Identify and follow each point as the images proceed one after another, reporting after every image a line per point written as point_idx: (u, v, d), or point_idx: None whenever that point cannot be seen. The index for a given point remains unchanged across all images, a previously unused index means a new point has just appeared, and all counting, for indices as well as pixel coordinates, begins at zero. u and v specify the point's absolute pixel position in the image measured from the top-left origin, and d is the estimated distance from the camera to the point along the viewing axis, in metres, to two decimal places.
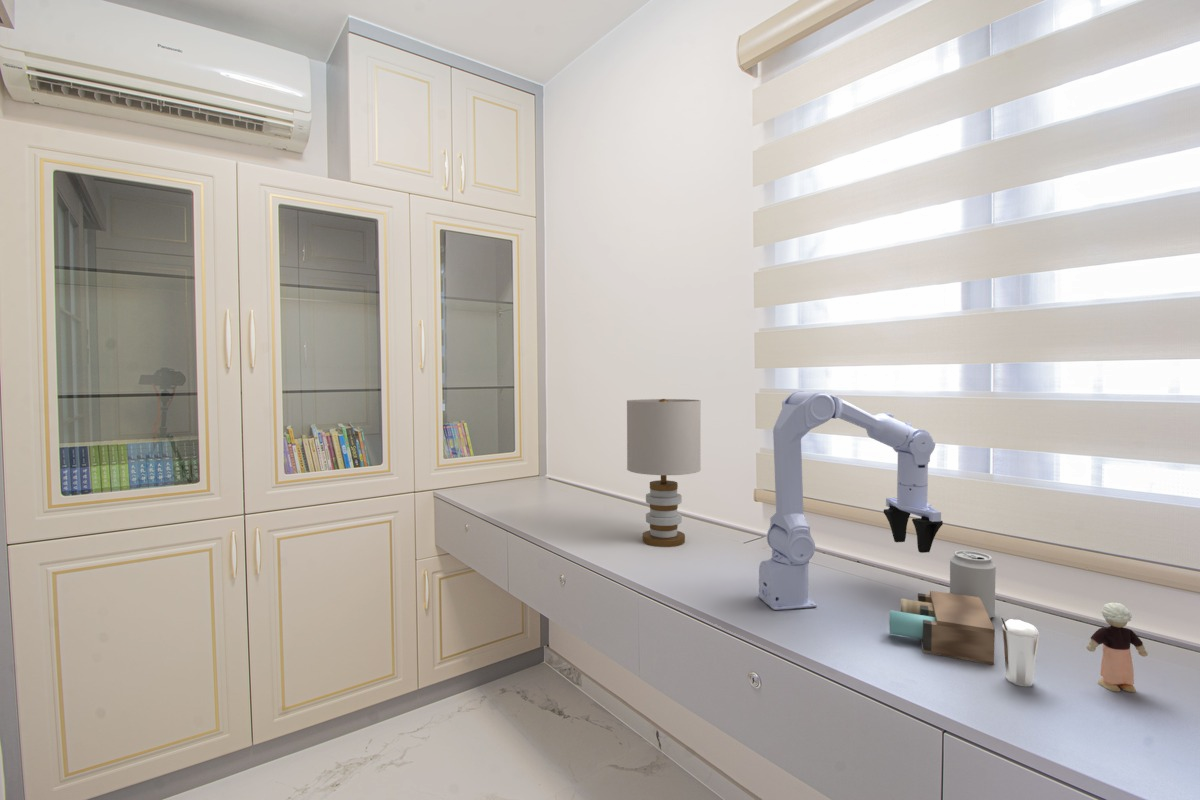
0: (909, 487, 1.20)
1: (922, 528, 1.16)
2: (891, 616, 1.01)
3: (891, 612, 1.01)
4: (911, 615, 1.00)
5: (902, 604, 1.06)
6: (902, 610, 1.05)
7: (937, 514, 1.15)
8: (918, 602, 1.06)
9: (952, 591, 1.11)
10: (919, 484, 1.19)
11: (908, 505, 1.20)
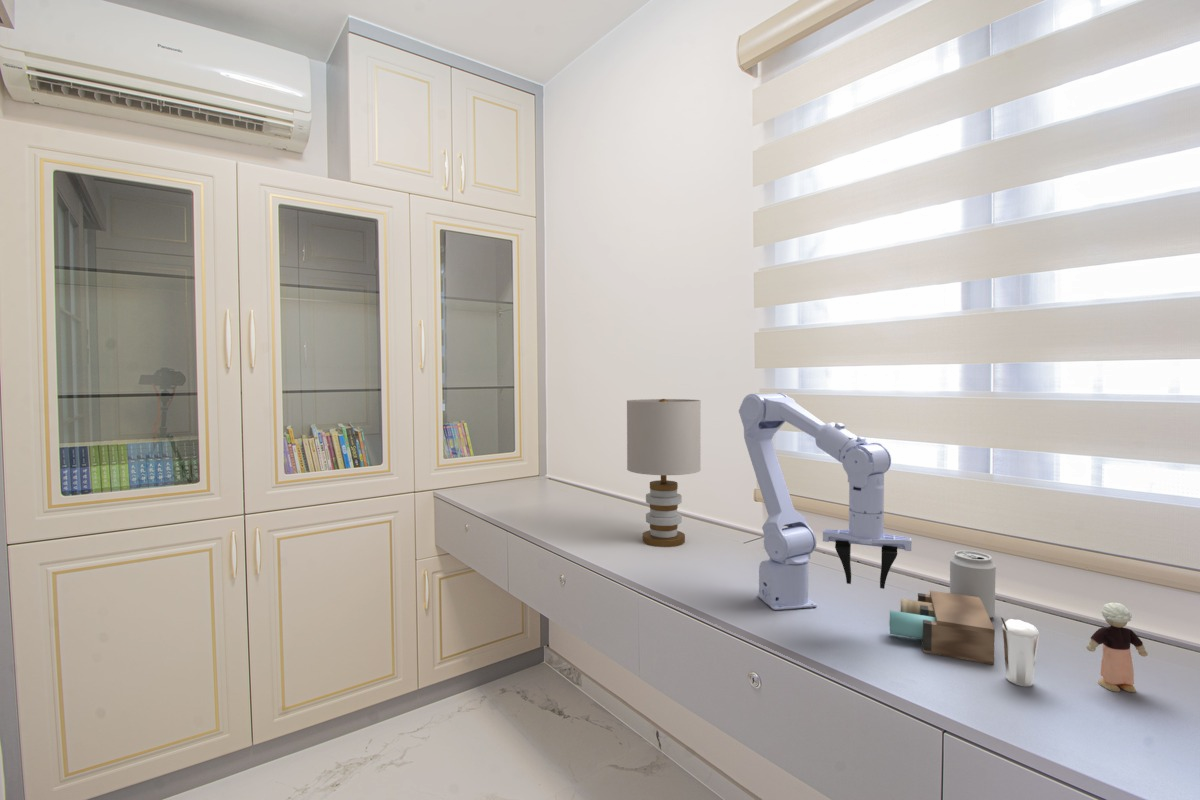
0: None
1: None
2: (891, 616, 1.01)
3: (891, 612, 1.01)
4: (911, 615, 1.00)
5: (902, 604, 1.06)
6: (902, 610, 1.05)
7: None
8: (918, 602, 1.06)
9: (952, 591, 1.12)
10: (854, 509, 1.02)
11: None
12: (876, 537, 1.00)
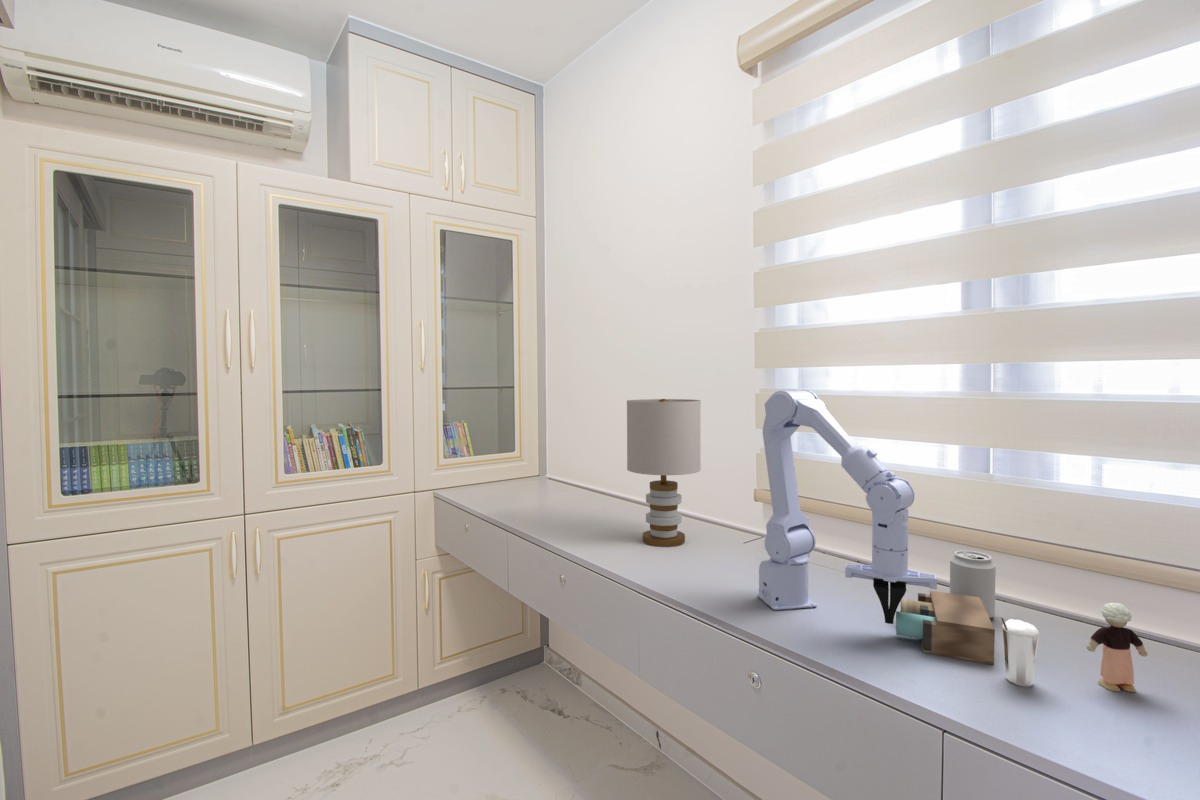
0: None
1: None
2: (898, 617, 1.00)
3: (898, 613, 1.01)
4: (918, 616, 1.00)
5: (902, 604, 1.06)
6: (902, 610, 1.05)
7: None
8: (918, 602, 1.06)
9: (952, 591, 1.11)
10: (879, 546, 1.00)
11: None
12: (901, 575, 0.99)
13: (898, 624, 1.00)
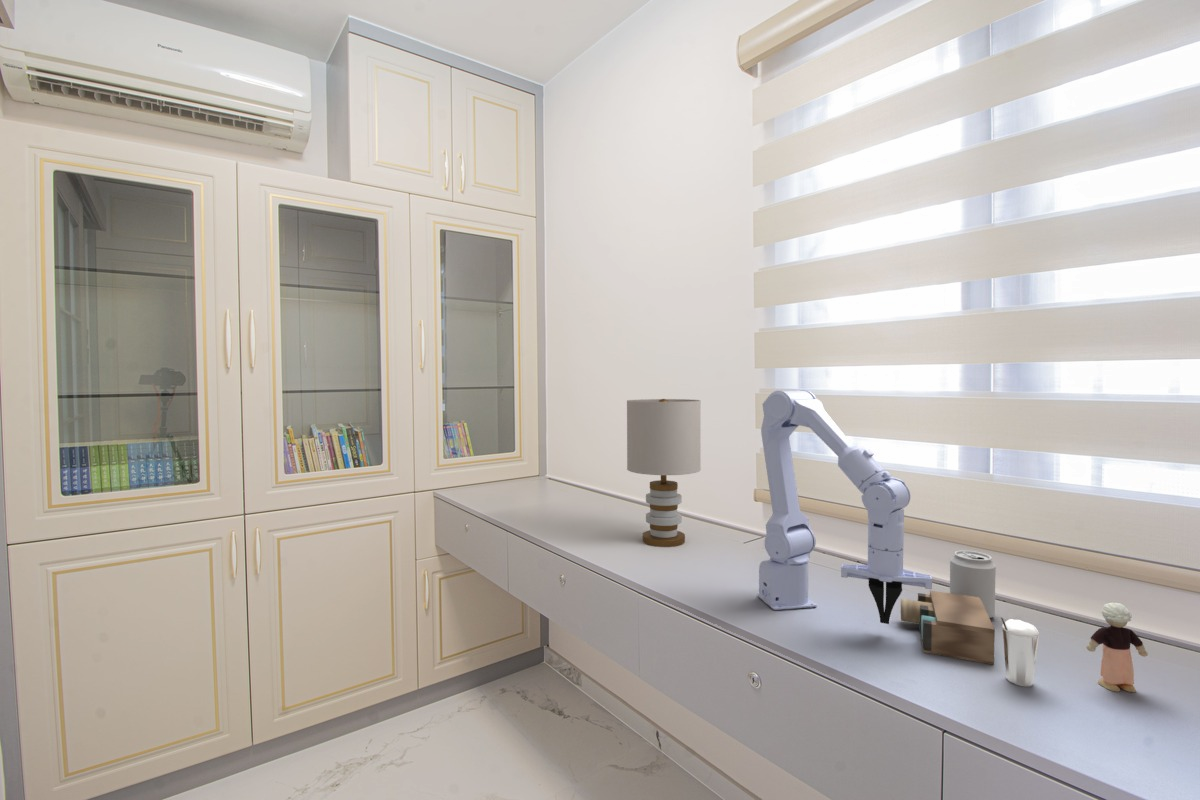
0: None
1: None
2: None
3: (924, 617, 0.99)
4: None
5: (902, 604, 1.06)
6: (902, 610, 1.05)
7: None
8: (918, 602, 1.06)
9: (952, 591, 1.11)
10: (874, 546, 1.00)
11: None
12: (896, 575, 0.99)
13: None
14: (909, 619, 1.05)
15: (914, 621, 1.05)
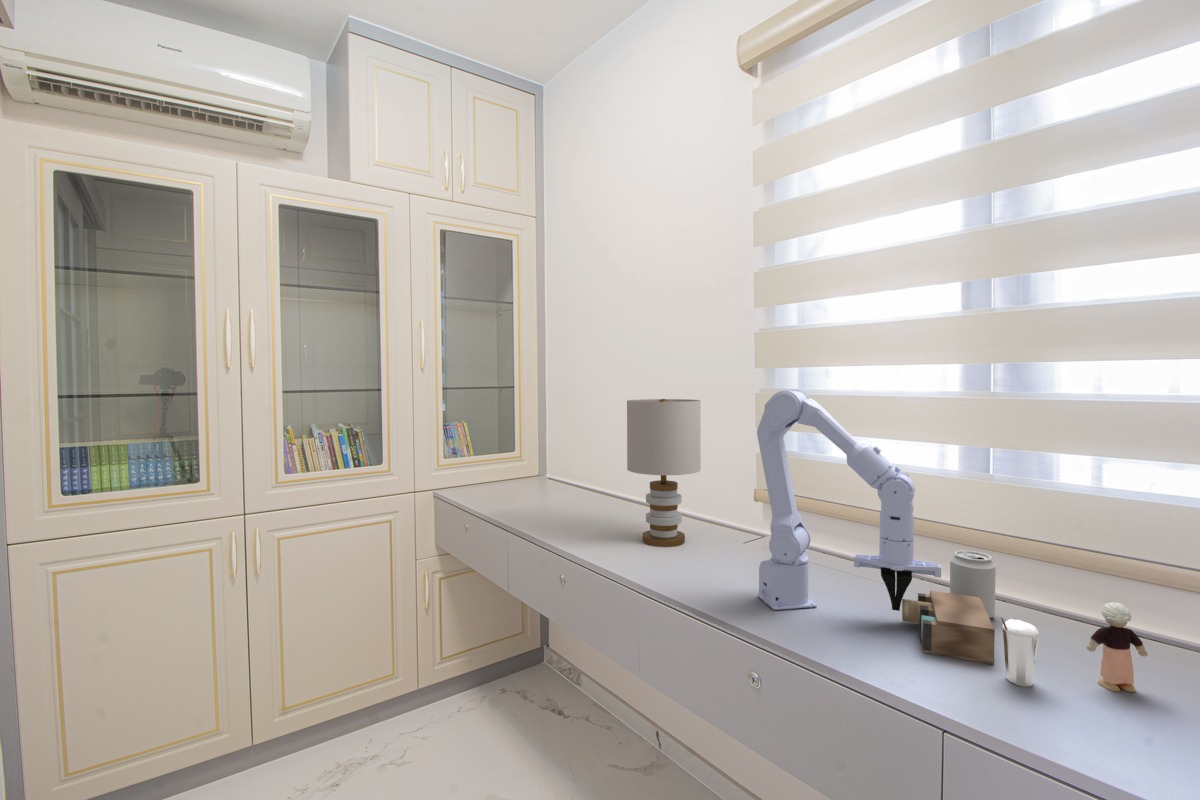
0: None
1: None
2: None
3: (924, 617, 0.99)
4: None
5: (904, 604, 1.06)
6: (904, 610, 1.05)
7: None
8: (920, 602, 1.06)
9: (952, 591, 1.11)
10: (892, 538, 1.05)
11: None
12: (907, 564, 1.05)
13: None
14: (910, 619, 1.05)
15: (916, 621, 1.05)
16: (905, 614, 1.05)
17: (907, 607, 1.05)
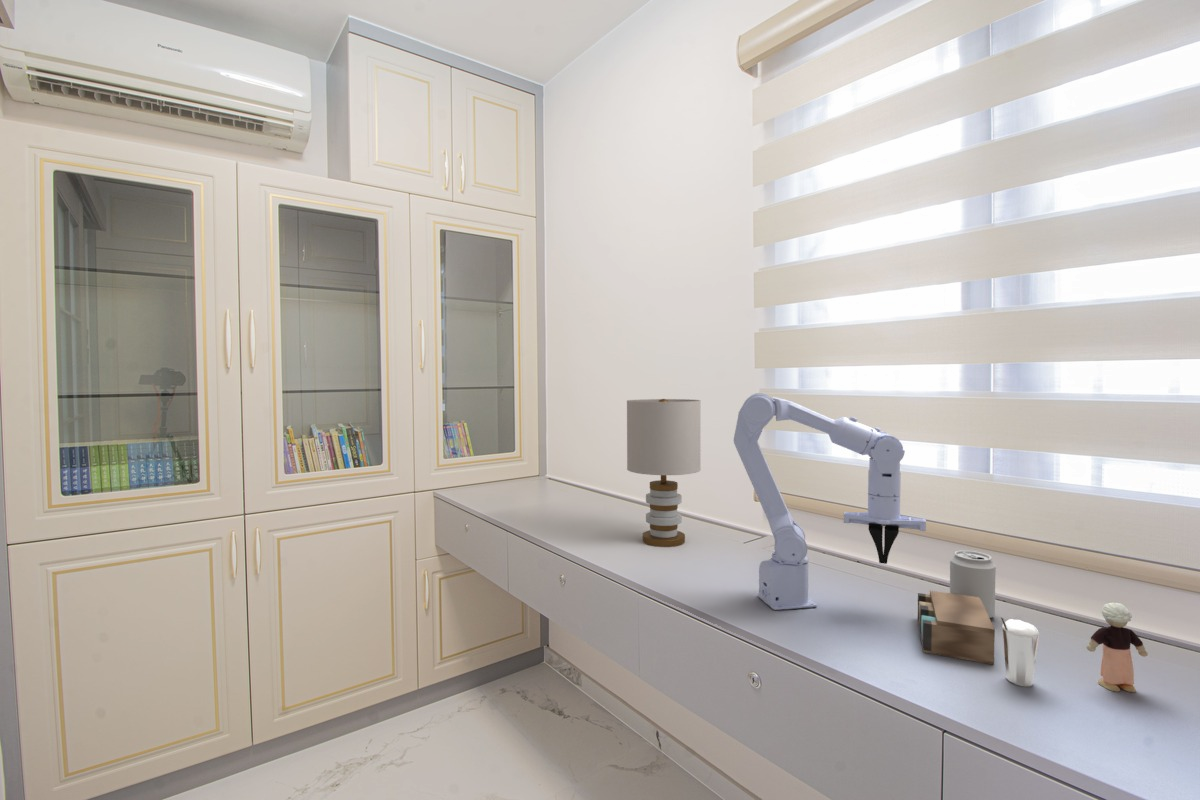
0: None
1: None
2: None
3: (924, 617, 0.99)
4: None
5: None
6: None
7: None
8: None
9: (952, 591, 1.11)
10: (883, 494, 1.10)
11: None
12: (893, 518, 1.10)
13: None
14: None
15: None
16: None
17: None
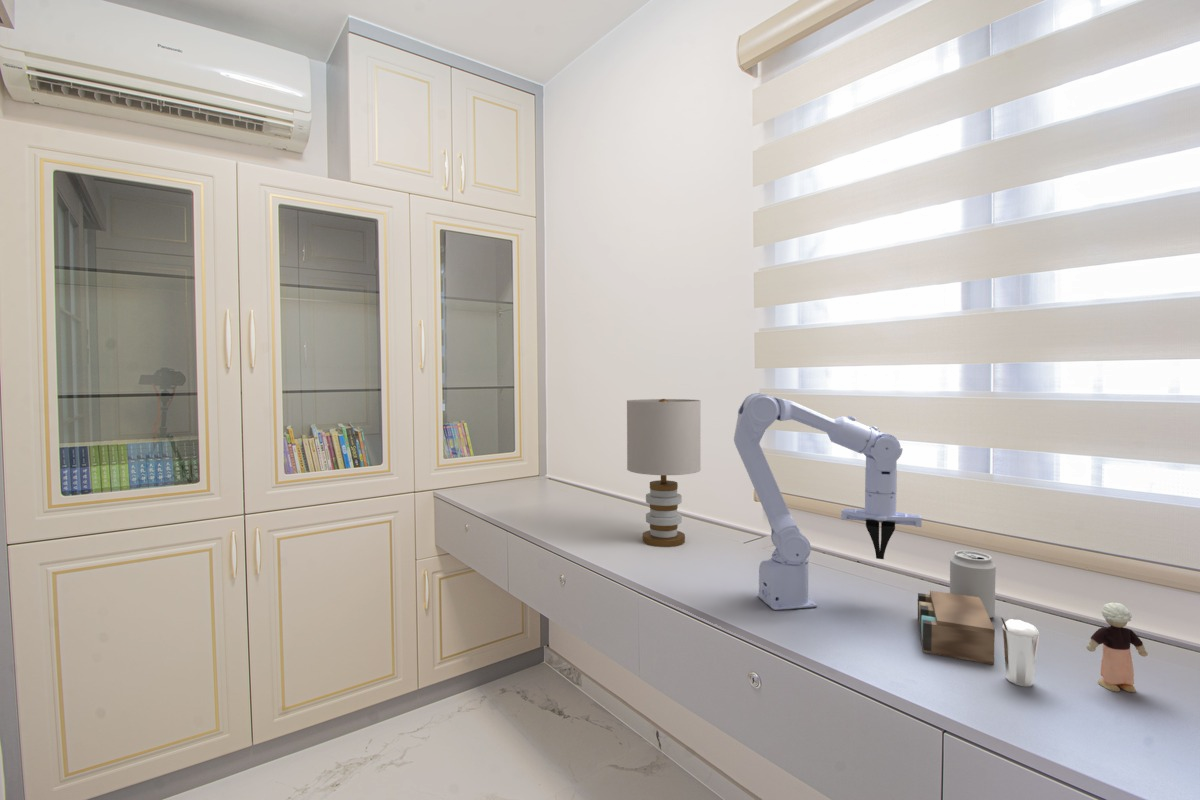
0: None
1: None
2: None
3: (924, 617, 0.99)
4: None
5: None
6: None
7: None
8: None
9: (952, 591, 1.11)
10: (883, 491, 1.13)
11: None
12: (890, 515, 1.13)
13: None
14: None
15: None
16: None
17: None
